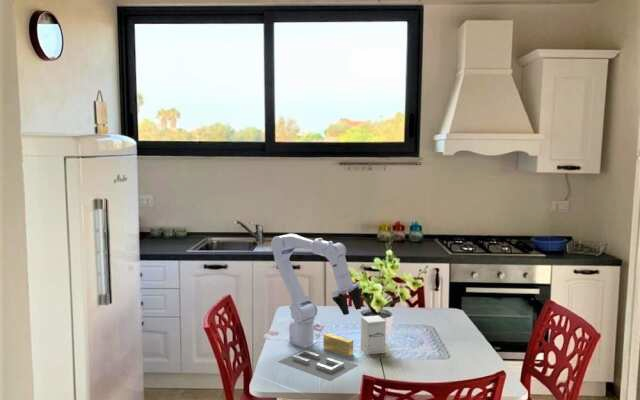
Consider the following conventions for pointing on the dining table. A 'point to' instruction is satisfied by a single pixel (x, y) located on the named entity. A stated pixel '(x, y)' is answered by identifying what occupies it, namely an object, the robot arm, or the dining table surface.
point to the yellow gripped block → (338, 344)
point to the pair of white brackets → (335, 363)
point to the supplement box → (373, 334)
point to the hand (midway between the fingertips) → (352, 311)
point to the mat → (312, 366)
